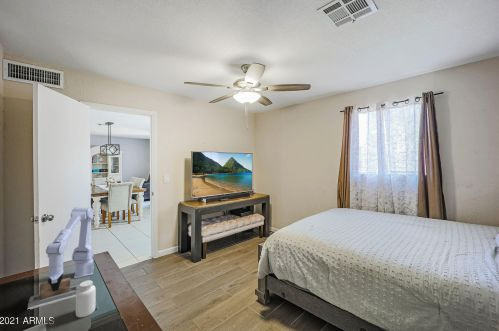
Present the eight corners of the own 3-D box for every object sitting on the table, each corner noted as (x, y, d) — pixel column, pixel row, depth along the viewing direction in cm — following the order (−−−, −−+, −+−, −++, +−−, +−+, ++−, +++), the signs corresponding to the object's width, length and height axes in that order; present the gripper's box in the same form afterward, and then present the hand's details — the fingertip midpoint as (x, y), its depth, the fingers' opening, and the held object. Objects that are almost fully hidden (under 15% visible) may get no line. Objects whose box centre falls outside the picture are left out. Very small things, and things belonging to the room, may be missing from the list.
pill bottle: (82, 306, 110) (83, 278, 109) (98, 306, 110) (99, 278, 110) (71, 317, 102) (71, 288, 101) (88, 317, 103) (89, 288, 102)
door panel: (70, 289, 118) (70, 277, 118) (69, 291, 116) (69, 279, 116) (40, 297, 111) (40, 284, 111) (39, 300, 109) (39, 287, 109)
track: (79, 287, 123) (79, 283, 123) (79, 295, 117) (79, 290, 117) (31, 300, 111) (31, 295, 111) (27, 310, 105) (27, 304, 105)
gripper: (48, 260, 116) (47, 284, 117) (43, 273, 105) (43, 299, 106) (64, 257, 121) (64, 280, 121) (62, 269, 109) (62, 294, 110)
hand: (55, 289), depth 114 cm, fingers closed on door panel, 2 cm apart
